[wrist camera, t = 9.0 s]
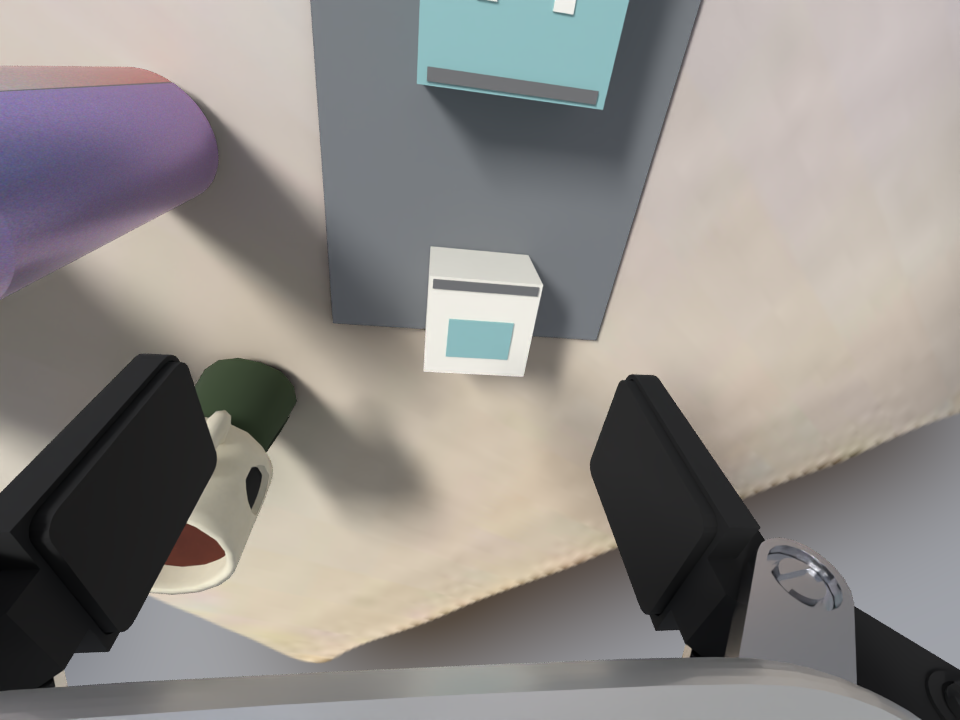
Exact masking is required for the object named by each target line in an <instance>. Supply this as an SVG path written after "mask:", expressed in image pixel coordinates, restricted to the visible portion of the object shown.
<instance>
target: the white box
mask: <svg viewBox="0 0 960 720" xmlns="http://www.w3.org/2000/svg"><path fill="white" fill-rule="evenodd" d="M542 288H543V284H542V282H541V280H540V278H539V276H538V274H537V272H536V270H535V267H534V265H533V263H532V261H531V259H530V257H529V255H522V254H511V253H500V252H489V251H478V250H467V249H455V248H444V247H433V246H431V248H430V264H429V280H428V297H427V313H426V329H425V351H424V372H443V373H462V374H481V375H500V376H520V377H523V376H524V372H525V367H526V362H527V358H528V353H529V348H530V344H531V339H532V334H533V330H534V325H535V320H536V316H537V311H538V307H539V302H540V297H541V293H542Z"/></svg>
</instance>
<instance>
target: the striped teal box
mask: <svg viewBox="0 0 960 720" xmlns="http://www.w3.org/2000/svg"><path fill="white" fill-rule="evenodd" d="M628 3H629V0H420V8H419V36H418V64H417V84H422V85H429V86H436V87H443V88H450V89H457V90H465V91H472V92H479V93H486V94H493V95H500V96H507V97H515V98H522V99H529V100H536V101H543V102H550V103H558V104H565V105H572V106H579V107H586V108H593V109H600V110H603V107H604V103H605V99H606V95H607V91H608V86H609V82H610V78H611V74H612V70H613V66H614V61H615V57H616V53H617V49H618V45H619V40H620V36H621V32H622V28H623V24H624V20H625V15H626V11H627V7H628Z"/></svg>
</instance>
